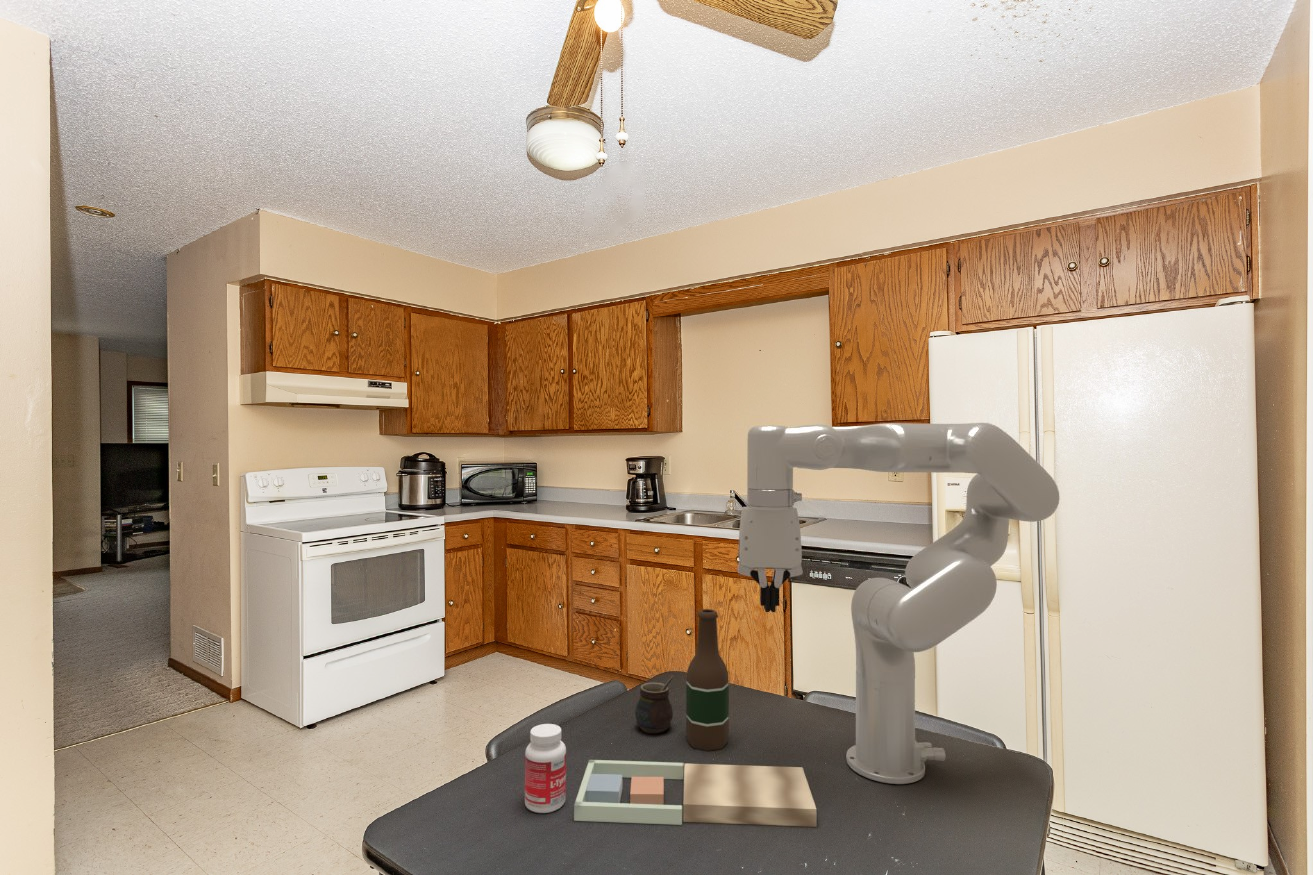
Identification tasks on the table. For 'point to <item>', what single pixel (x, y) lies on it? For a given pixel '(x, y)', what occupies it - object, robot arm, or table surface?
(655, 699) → the mate gourd
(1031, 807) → the table surface
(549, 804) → the pill bottle
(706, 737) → the beer bottle
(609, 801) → the slate tile
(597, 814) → the u-shaped frame
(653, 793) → the terracotta tile
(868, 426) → the robot arm
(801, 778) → the wooden cutting board
